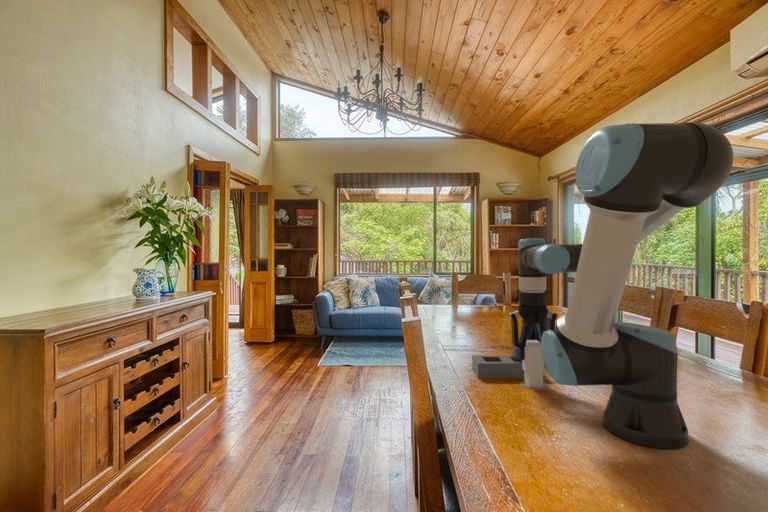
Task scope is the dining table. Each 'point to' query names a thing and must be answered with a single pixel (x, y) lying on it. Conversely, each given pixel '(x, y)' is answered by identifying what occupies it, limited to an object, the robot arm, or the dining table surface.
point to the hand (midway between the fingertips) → (533, 370)
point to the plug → (534, 364)
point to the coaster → (533, 387)
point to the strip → (498, 365)
